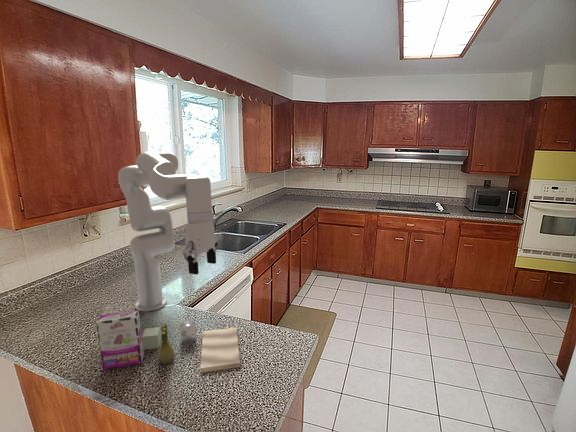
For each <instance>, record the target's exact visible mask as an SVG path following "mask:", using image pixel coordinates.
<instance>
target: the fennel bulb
mask: <svg viewBox="0 0 576 432" xmlns="http://www.w3.org/2000/svg"><path fill="white" fill-rule="evenodd" d="M168 334H169V333H168V325H167V323H163V324H162V326H161V344H160V346H159V348H158V349H159V350H158V353H157V359H158V361H159V363H160V364H163V365H168V364H169V363H171V362H172V361H173V360H174V359H175V351H174V347H173V346H172V344H171V342H170V340H169V337H168Z"/></svg>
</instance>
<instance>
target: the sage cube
mask: <svg viewBox="0 0 576 432" xmlns="http://www.w3.org/2000/svg"><path fill="white" fill-rule="evenodd" d="M161 333H162V328H161V326H158V327H157V326H156V327H149V328H144V331H143V334H142V341H143V349H144V351H145V350H153V349H160V347H161V344H162V335H161Z"/></svg>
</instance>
